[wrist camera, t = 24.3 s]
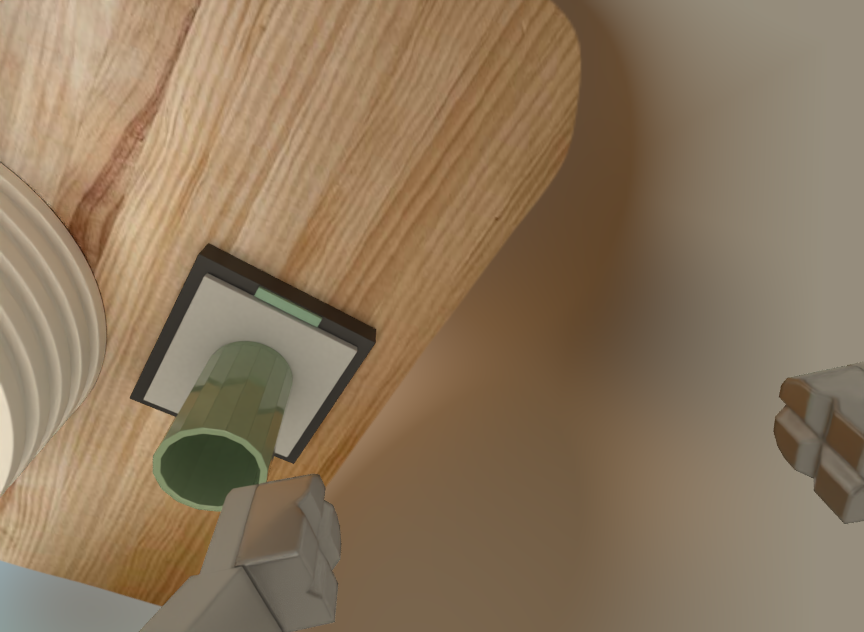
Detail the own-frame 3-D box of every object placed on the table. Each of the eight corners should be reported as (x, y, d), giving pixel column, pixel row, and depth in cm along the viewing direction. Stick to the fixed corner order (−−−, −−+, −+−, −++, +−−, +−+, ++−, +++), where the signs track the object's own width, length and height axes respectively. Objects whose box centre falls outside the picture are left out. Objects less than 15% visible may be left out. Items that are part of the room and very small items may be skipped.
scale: (208, 243, 38) (195, 257, 35) (376, 329, 42) (375, 347, 39) (140, 382, 42) (125, 404, 40) (297, 446, 47) (292, 469, 44)
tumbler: (279, 333, 38) (247, 419, 29) (303, 404, 41) (280, 501, 32) (192, 348, 38) (133, 439, 29) (222, 418, 41) (177, 518, 32)
